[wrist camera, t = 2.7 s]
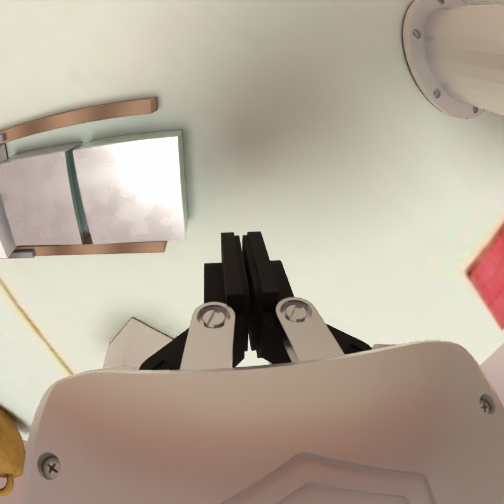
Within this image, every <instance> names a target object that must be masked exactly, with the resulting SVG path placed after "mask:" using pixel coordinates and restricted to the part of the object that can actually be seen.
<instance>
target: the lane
mask: <svg viewBox="0 0 504 504" xmlns="http://www.w3.org/2000/svg"><path fill="white" fill-rule="evenodd" d="M155 111H157V97H155V98H146V99H137V100H130V101H122V102H116V103H109V104H104V105H98V106H93V107H87V108H82V109H78V110H73V111H69V112H64V113H60V114H56V115H52V116H48V117H45V118H41V119H37V120H34V121H31V122H27V123H24V124H21V125H18V126H15V127H12V128H9V129H6V130H3V131H0V144H3V143H6V142H9V141H12V140H15V139H19V138H22V137H26V136H29V135H33V134H37V133H40V132H44V131H49V130H53V129H57V128H61V127H66V126H71V125H76V124H81V123H86V122H92V121H97V120H103V119H110V118H117V117H124V116H132V115H140V114H150V113H153V112H155ZM166 244H167V241H147V242H127V243H109V244H93V242H92V238H91V234H90V233H89V234H88V235H87V237H86V238H85V240H84V243H83V244H80V245H21V246H17V247H16V248H15V249H14V251H13V252H12V253H11V254H10V256H9V257H8V258H34V256H51V255H85V254H121V253H157V252H165V248H166ZM0 259H7V258H0Z"/></svg>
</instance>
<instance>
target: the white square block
mask: <svg viewBox="0 0 504 504" xmlns="http://www.w3.org/2000/svg"><path fill="white" fill-rule="evenodd" d="M81 146H83V145H82V142H78V143H71V144H65V145H58V146H52V147H47V148H41V149H36V150H31V151H26V152H22V153H17V154H15V155H13V156H11V157H9V158H8V159H6V160H4V161H3V162H1V163H0V193H1V197H2V201H3V205H4V208H5V212H6V216H7V219H8V223H9V226H10V229H11V232H12V235H13V238H14V241H15V244H16V246H21V245H80V244H83V243H84V240H85V238H86V237H87V235H88V234H89V232H90V231H89V227H88V223H87V219H86V215H85V211H84V207H83V202H82V198H81V193H80V189H79V184H78V179H77V174H76V168H75V162H74V156H73V150H75V149H78V148H80V147H81Z"/></svg>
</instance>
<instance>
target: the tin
mask: <svg viewBox="0 0 504 504" xmlns="http://www.w3.org/2000/svg"><path fill="white" fill-rule="evenodd" d="M73 156H74V162H75V168H76V174H77V179H78V184H79V189H80V193H81V198H82V202H83V207H84V211H85V215H86V219H87V223H88V227H89V231H90V234H91V238H92V242H93V244H109V243H127V242H147V241H168V240H186V230H187V225H188V208H187V196H186V183H185V169H184V153H183V133H182V130H171V131H160V132H150V133H141V134H132V135H125V136H118V137H111V138H104V139H98V140H92V141H90V142H88V143H86V144H85V145H83V146H81V147H80V148H78V149H75V150H73Z"/></svg>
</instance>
